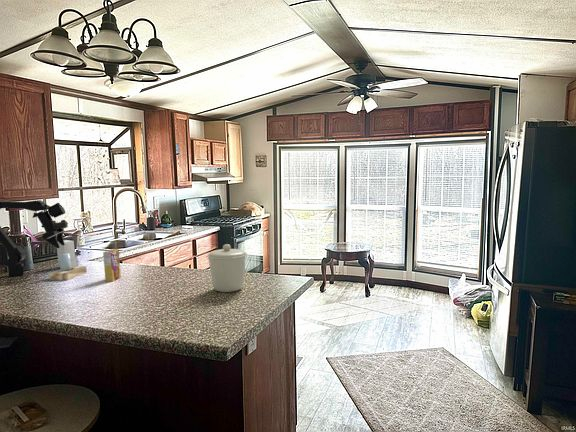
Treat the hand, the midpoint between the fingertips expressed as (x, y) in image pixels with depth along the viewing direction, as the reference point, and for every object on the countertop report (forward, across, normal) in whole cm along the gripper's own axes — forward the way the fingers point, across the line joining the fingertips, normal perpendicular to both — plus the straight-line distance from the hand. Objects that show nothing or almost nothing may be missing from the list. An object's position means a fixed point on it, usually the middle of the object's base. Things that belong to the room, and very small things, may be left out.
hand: (61, 246), depth 222 cm
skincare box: (+13, +14, +7) cm, 20 cm away
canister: (+48, -62, -72) cm, 107 cm away
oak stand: (+16, -11, +1) cm, 19 cm away
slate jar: (+15, -10, +2) cm, 18 cm away
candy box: (+26, -26, -22) cm, 43 cm away
